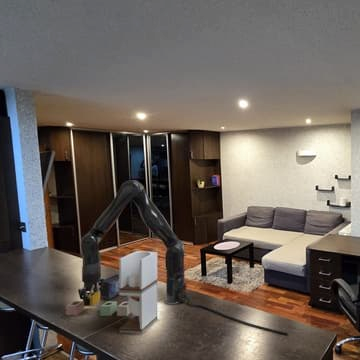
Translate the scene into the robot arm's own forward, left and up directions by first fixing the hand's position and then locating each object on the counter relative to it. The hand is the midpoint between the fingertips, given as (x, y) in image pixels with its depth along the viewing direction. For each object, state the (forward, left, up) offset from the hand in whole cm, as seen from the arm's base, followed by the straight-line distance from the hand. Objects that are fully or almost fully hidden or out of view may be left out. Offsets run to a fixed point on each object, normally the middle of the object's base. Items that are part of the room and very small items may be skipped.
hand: (91, 302), depth 141 cm
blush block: (+8, 0, -5) cm, 10 cm away
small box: (+3, -19, -6) cm, 20 cm away
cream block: (-17, 0, -5) cm, 18 cm away
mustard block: (0, 0, 0) cm, 0 cm away
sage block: (-9, 0, -5) cm, 10 cm away
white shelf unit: (-31, +11, -6) cm, 34 cm away
